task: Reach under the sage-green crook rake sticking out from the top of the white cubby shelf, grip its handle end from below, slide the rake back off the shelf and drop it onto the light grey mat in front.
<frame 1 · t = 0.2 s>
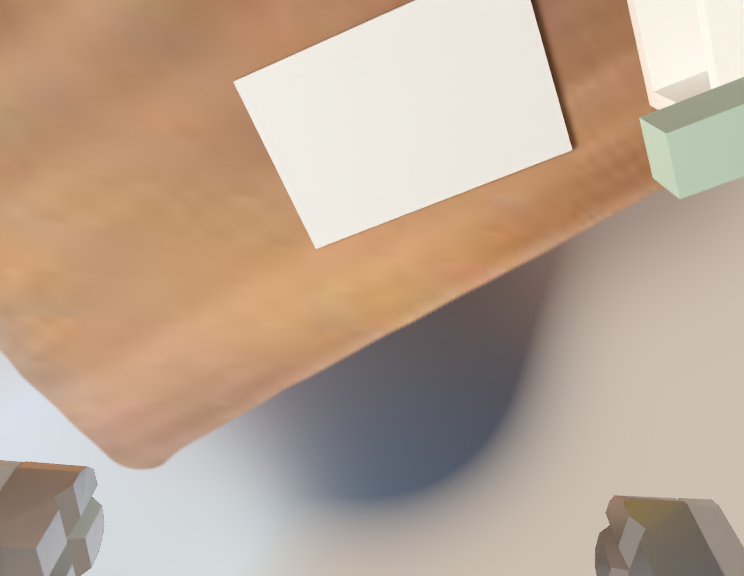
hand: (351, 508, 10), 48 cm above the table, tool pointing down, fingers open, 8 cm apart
mat: (406, 115, 55), on the table
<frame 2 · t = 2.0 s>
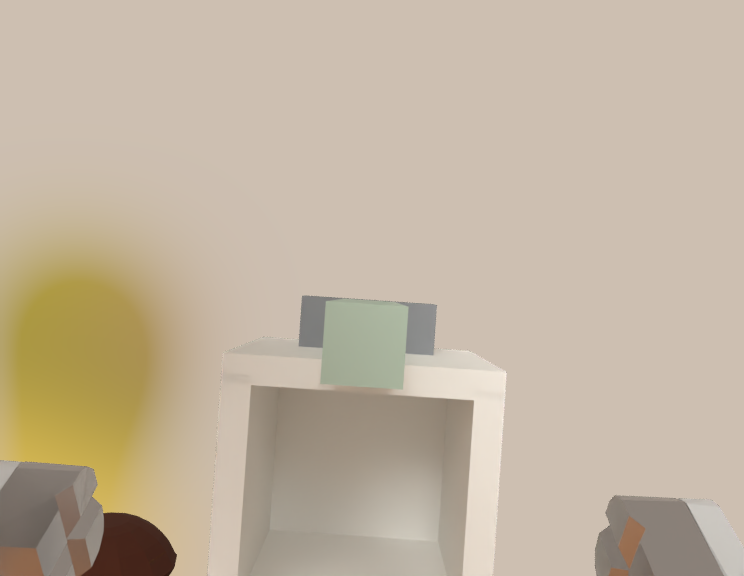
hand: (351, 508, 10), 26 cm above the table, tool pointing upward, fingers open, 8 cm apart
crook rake: (364, 361, 32), point 26 cm above the table, touching shelf
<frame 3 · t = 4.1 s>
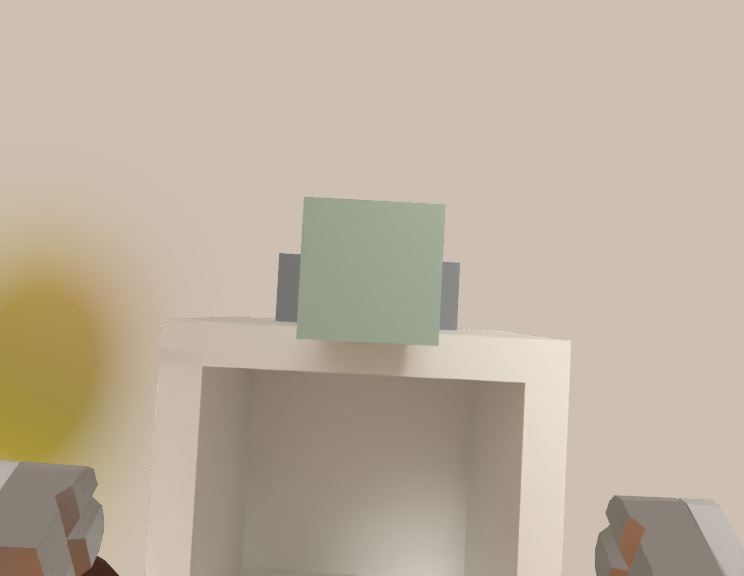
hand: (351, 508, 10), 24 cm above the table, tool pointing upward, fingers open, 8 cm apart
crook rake: (366, 329, 23), point 26 cm above the table, touching shelf
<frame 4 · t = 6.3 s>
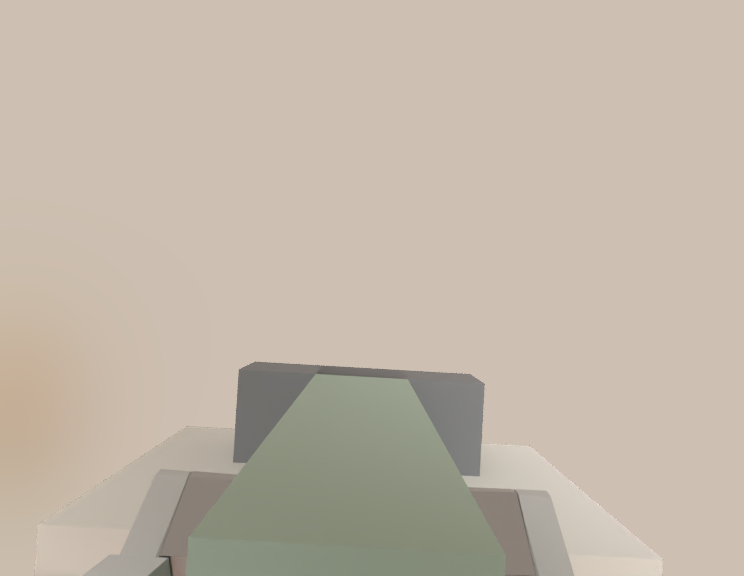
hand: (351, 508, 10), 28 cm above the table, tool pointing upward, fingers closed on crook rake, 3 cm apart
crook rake: (351, 534, 15), point 26 cm above the table, touching gripper, shelf
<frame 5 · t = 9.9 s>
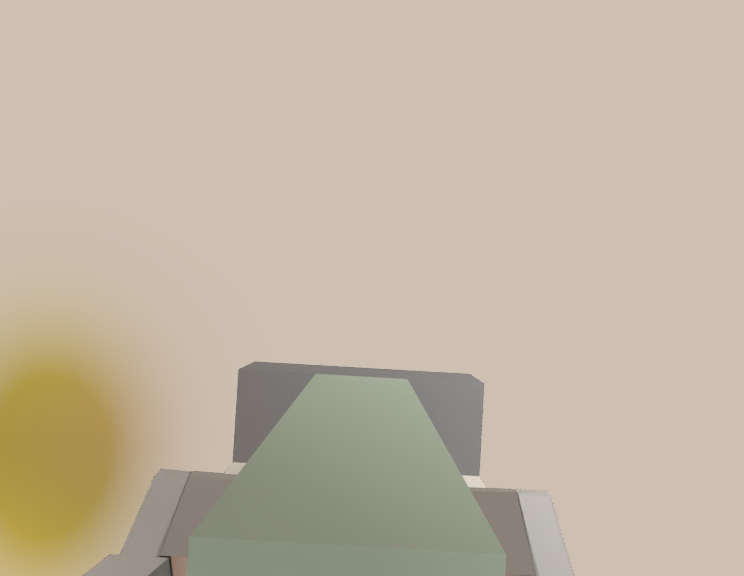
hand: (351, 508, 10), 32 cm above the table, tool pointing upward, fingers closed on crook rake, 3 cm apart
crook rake: (351, 533, 15), point 30 cm above the table, touching gripper
when the fingers open (19 cm above the table, at t = 13.4 s): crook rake drops 16 cm, resting on mat.
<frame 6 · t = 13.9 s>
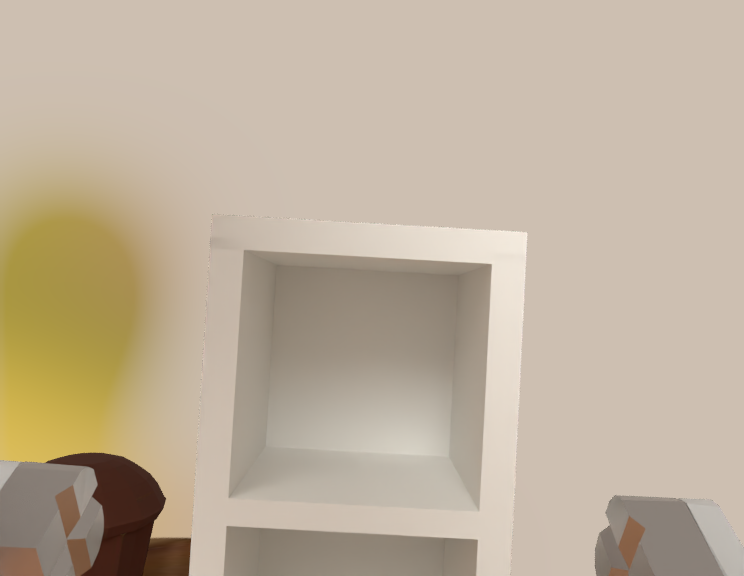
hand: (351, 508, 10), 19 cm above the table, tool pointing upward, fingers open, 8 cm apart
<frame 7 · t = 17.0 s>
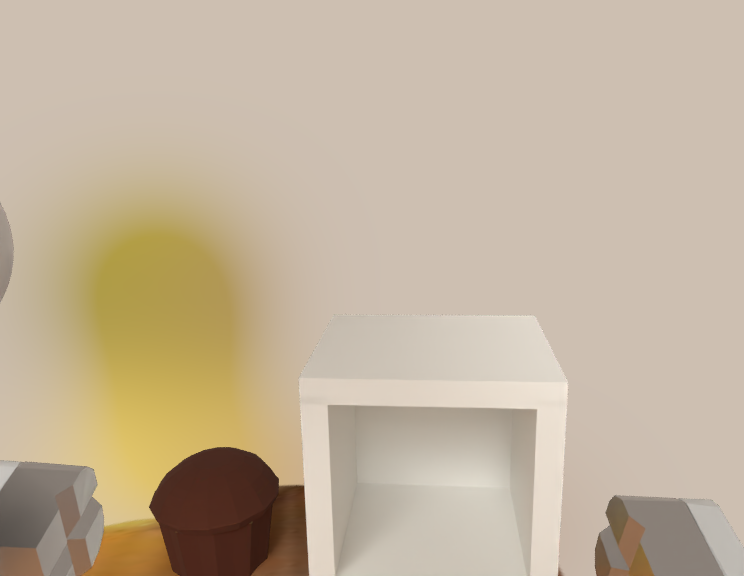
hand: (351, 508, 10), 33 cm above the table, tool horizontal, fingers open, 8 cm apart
muffin: (221, 556, 61), on the table
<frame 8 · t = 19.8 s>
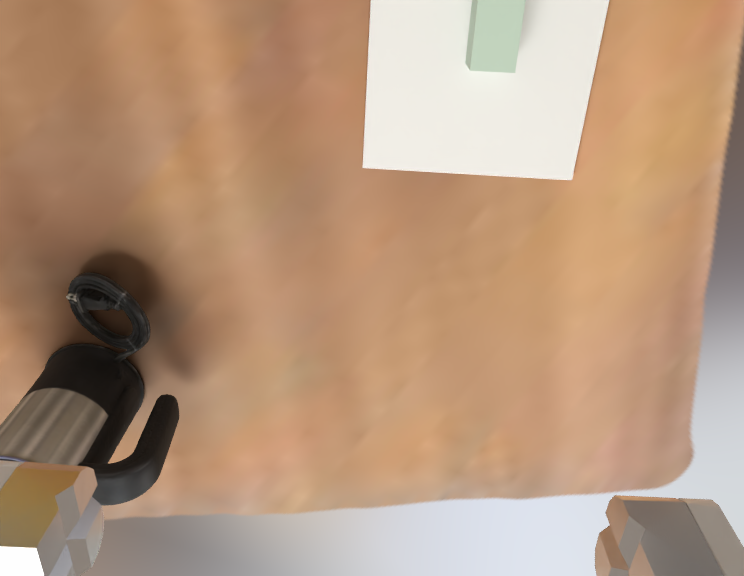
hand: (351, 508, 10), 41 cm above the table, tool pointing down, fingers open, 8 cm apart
milk frother: (102, 347, 59), on the table
mat: (488, 2, 44), on the table
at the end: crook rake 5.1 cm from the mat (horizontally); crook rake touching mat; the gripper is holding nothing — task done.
